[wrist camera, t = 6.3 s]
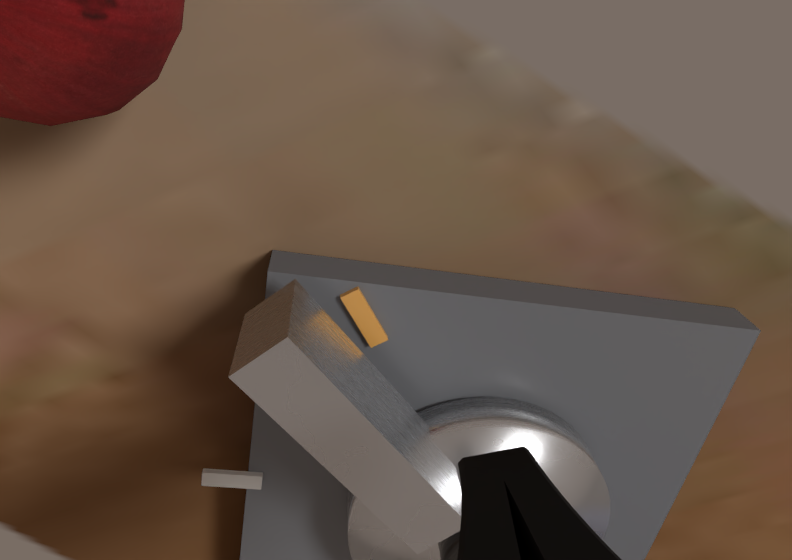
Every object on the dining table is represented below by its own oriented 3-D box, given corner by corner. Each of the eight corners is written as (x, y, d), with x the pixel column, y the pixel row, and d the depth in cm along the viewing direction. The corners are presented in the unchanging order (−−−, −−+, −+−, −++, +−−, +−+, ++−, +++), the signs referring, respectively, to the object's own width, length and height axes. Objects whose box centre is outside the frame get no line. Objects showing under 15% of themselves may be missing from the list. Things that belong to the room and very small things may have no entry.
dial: (634, 507, 23) (684, 599, 20) (436, 612, 25) (452, 712, 22) (400, 194, 17) (416, 250, 14) (157, 363, 19) (117, 451, 15)
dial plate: (591, 607, 29) (605, 643, 27) (202, 591, 26) (193, 630, 24) (734, 308, 22) (764, 333, 20) (223, 243, 19) (213, 267, 17)
